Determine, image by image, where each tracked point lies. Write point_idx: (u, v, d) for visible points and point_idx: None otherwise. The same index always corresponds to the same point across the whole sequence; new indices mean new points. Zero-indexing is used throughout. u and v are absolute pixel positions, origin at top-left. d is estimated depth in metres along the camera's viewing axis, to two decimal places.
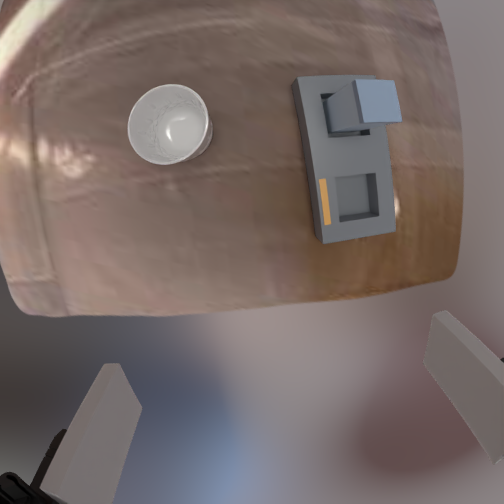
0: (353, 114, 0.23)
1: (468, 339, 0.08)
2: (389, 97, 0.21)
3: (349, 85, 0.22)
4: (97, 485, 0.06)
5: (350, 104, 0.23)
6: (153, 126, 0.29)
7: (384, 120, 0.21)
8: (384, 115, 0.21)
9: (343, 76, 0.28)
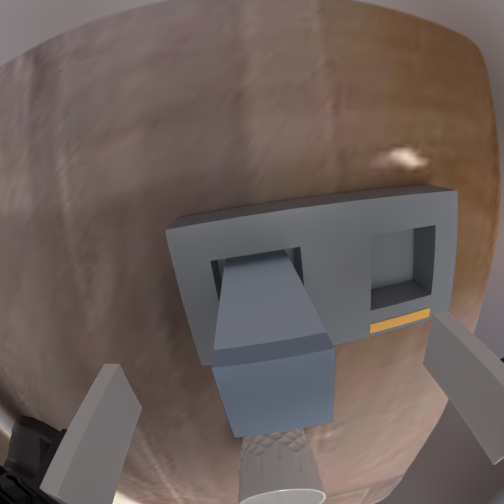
0: None
1: (468, 339, 0.08)
2: (267, 381, 0.09)
3: None
4: (97, 485, 0.06)
5: None
6: None
7: (330, 389, 0.09)
8: (317, 389, 0.09)
9: (183, 296, 0.18)
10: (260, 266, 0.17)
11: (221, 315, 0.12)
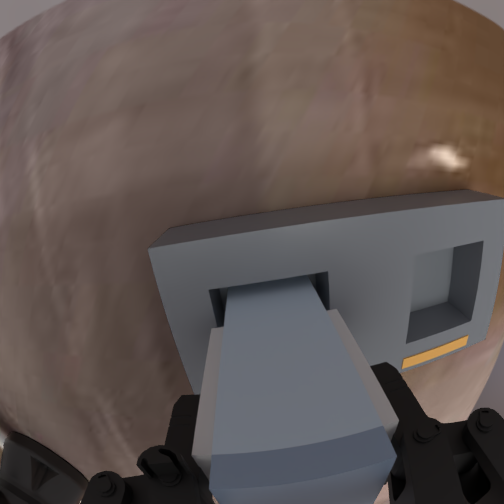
0: None
1: (342, 338, 0.10)
2: (293, 497, 0.05)
3: None
4: None
5: None
6: None
7: (376, 489, 0.05)
8: (360, 493, 0.05)
9: (175, 332, 0.13)
10: (274, 298, 0.13)
11: (223, 386, 0.08)
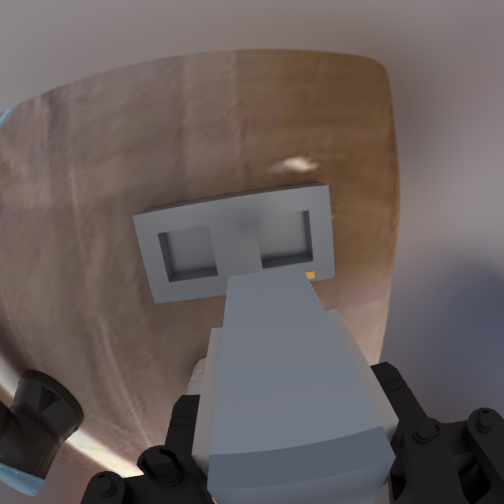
0: None
1: (342, 338, 0.10)
2: (291, 497, 0.05)
3: None
4: None
5: None
6: None
7: (375, 490, 0.05)
8: (359, 494, 0.05)
9: (143, 255, 0.29)
10: (273, 298, 0.13)
11: (221, 386, 0.08)
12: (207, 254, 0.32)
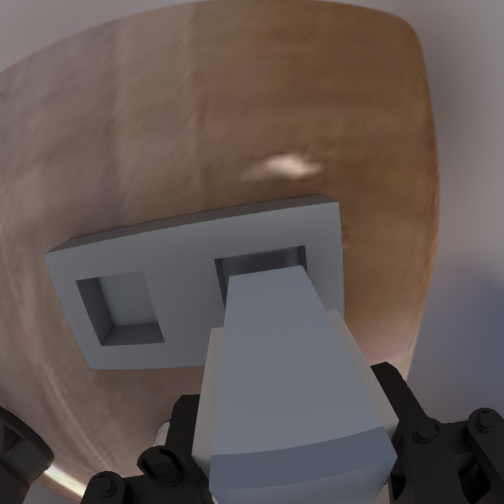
0: None
1: (342, 338, 0.10)
2: (293, 497, 0.05)
3: None
4: None
5: None
6: None
7: (377, 490, 0.05)
8: (360, 494, 0.05)
9: (63, 308, 0.18)
10: (274, 298, 0.13)
11: (223, 386, 0.08)
12: None
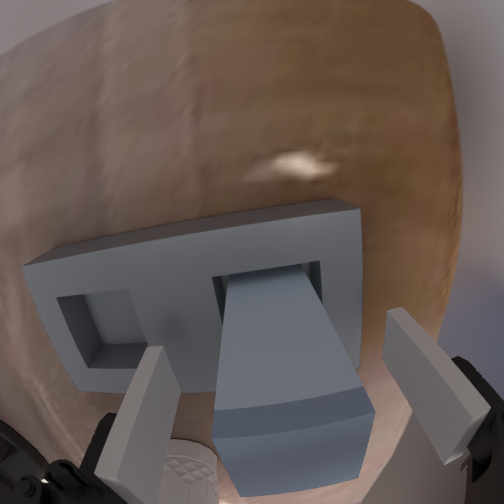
0: None
1: (418, 335, 0.09)
2: (285, 450, 0.06)
3: None
4: (149, 466, 0.07)
5: None
6: None
7: (362, 450, 0.06)
8: (346, 453, 0.06)
9: (45, 327, 0.15)
10: (270, 284, 0.14)
11: (224, 355, 0.09)
12: None
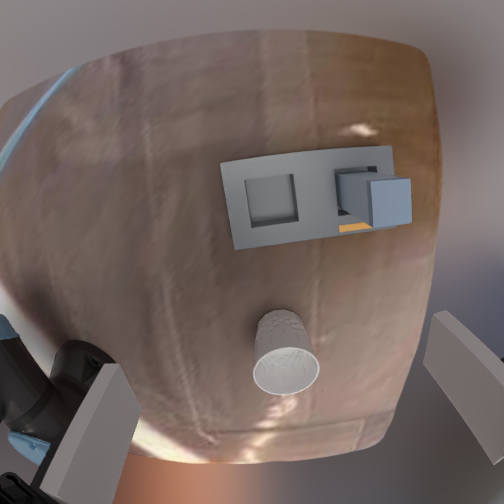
0: None
1: (468, 339, 0.08)
2: (388, 190, 0.22)
3: None
4: (97, 485, 0.06)
5: None
6: (275, 362, 0.38)
7: (410, 200, 0.22)
8: (405, 199, 0.22)
9: (227, 201, 0.32)
10: (358, 173, 0.30)
11: (358, 178, 0.25)
12: (284, 204, 0.35)
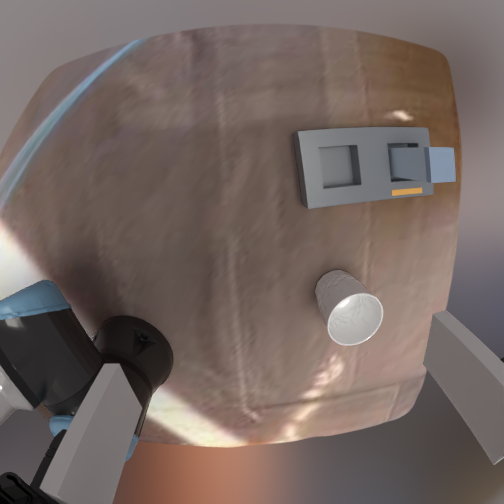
0: None
1: (468, 339, 0.08)
2: (440, 155, 0.26)
3: (425, 181, 0.28)
4: (97, 485, 0.06)
5: None
6: (335, 319, 0.41)
7: (453, 163, 0.26)
8: (451, 162, 0.26)
9: (304, 164, 0.35)
10: None
11: None
12: (344, 173, 0.38)
